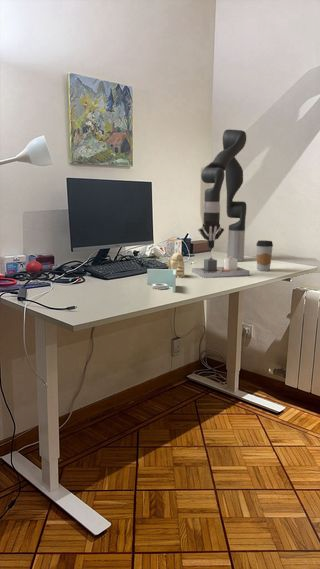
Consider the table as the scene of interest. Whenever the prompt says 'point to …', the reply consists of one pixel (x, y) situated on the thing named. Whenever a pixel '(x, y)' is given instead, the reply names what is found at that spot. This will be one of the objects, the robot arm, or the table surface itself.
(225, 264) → the white plug
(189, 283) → the table surface
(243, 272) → the socket plate
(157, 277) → the l-shaped corner panel
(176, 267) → the robot
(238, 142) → the robot arm
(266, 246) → the coffee cup
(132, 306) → the table surface
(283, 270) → the table surface
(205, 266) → the grey plug
